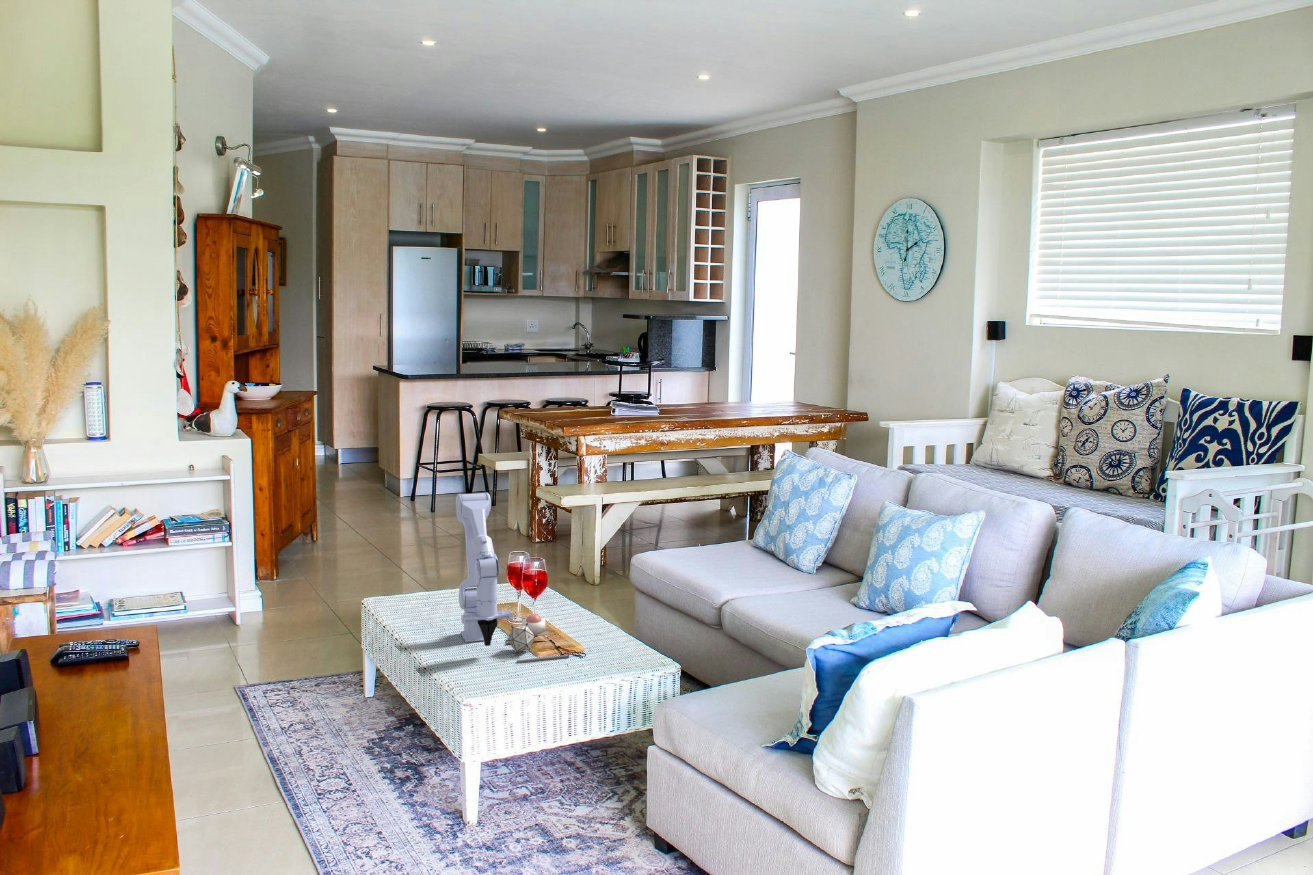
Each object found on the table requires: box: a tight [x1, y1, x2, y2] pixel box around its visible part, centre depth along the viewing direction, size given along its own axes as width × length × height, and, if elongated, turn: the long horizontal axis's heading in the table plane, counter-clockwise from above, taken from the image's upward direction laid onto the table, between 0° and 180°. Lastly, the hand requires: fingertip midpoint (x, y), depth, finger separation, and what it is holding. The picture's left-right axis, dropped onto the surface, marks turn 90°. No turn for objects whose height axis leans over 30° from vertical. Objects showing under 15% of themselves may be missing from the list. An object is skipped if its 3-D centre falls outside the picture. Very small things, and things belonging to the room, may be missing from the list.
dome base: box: [534, 626, 551, 637], centre depth 320 cm, size 10×10×2 cm
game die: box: [504, 623, 538, 655], centre depth 305 cm, size 9×8×10 cm
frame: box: [504, 641, 570, 664], centre depth 306 cm, size 17×15×1 cm
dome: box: [521, 613, 546, 634], centre depth 320 cm, size 7×7×5 cm
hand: (487, 644), depth 301 cm, fingers closed
